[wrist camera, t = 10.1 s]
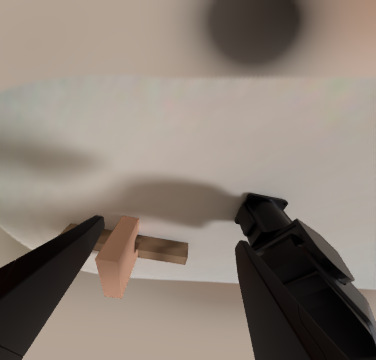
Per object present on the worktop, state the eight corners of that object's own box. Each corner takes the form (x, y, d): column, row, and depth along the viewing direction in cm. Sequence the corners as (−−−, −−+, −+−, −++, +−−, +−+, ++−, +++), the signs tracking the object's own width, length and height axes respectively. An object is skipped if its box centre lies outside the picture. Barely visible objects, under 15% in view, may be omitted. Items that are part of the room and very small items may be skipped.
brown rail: (188, 243, 28) (187, 257, 26) (185, 250, 29) (185, 264, 27) (70, 223, 27) (57, 236, 24) (73, 232, 28) (60, 245, 25)
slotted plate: (138, 218, 25) (117, 262, 18) (138, 255, 31) (121, 298, 24) (122, 215, 25) (94, 258, 18) (125, 253, 31) (104, 296, 24)
